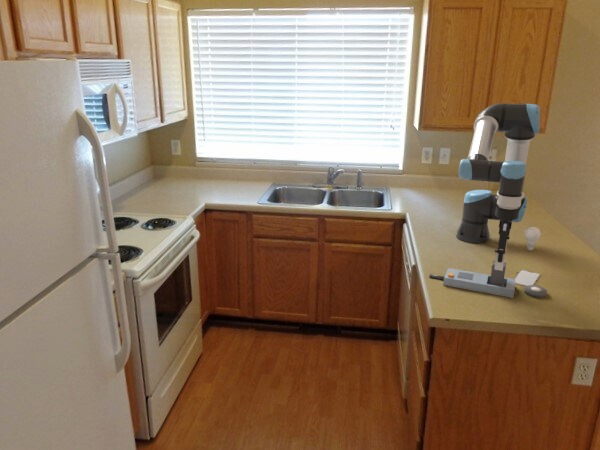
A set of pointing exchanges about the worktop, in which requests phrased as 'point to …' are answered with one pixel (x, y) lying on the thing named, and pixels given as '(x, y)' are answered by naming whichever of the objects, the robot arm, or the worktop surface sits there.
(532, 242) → the lightbulb
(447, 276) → the power strip
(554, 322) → the worktop surface
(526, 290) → the grey disc with dome
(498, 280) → the brick
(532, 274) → the smartphone
